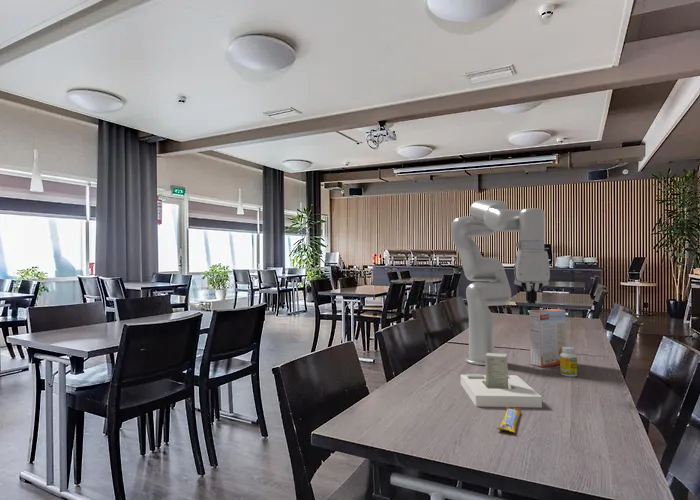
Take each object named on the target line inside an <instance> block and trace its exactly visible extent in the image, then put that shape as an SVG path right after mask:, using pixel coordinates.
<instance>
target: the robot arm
mask: <svg viewBox="0 0 700 500" xmlns="http://www.w3.org/2000/svg"><path fill="white" fill-rule="evenodd" d="M469 214H470V216H469V215H466V216H460V217H456V218H455V219H454V220H452V223H451V226H450V234H451V235H450V236H451V238H452V241H453V245H454V246H455V248H456V250H457V251H458V254H459V255H458V256H459V258H460V262H461V266H462V269H463V273H464V276H465V278H466V279H467V280H468V281H471V282H472V283H471V282H470V283H469V285H467V287H466V289H465V290H466V291H465V296H466V297H465V298H466V301H467V308H468V309H467V310H468V356H465V357H464V361H465V362H466V363H468V364H471V365H477V366H485V355H486V353H495V321H494V320H495V319H494V315H493V313H492V311H491V310H490V308H489V307H490V306H505V305H508V304H509V303H510V301H511V299H512V290H511V286H510V283H509V280H508V276H507V273H506V271H505V267H504V265H503V263H502V262H501V260H500V259H498V258H495V257H494V258H493V257H483V256H482V253H481V250H480V247H479V245H478V244H477V243H476V242H475V241H474V240H473V239H472V238H471V237H479V238H480V237H484V238H485V237H490V236H493V234H495V233H496V232H502V233H503V232H504V233H506V232H508V233H510V232H511V233H513V232H515V233H518V234H519V235H518V237H519V238H518V240H519V241H518V242H515V243H514V248H518V250H516V255H515V256H516V257H515V261H514V262H515V263H514V271H513V273H514V276H513V277H514V281H513V284H514V285H516V286H519V287H522V288H523V289H524V291H525V301H527V304H530V305H531V304H533V305H534V304H536V302H537V301H538V299H537V298H538V297H537V296H538V291H539V290H540V289H541V288H542V287H544V286H549V285H550V278H551V271H550V270H551V269H550V259H549V254H548V251H547V250H545V210H544V209H542V208H537V207H534V208H532V207H531V208H530V207H529V208H523V209H508V206H507V204H506V203H505V202H504V201H503V200H497V199H495V200H494V199H493V200H491V199H478V200H476V201H474V202H473V203H471V205H470V207H469ZM531 283H532V285H531ZM531 286H532V287H531Z"/></svg>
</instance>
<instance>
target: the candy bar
mask: <svg viewBox="0 0 700 500" xmlns="http://www.w3.org/2000/svg"><path fill="white" fill-rule="evenodd" d="M521 414H522V411H521V409H520V408H517V407H505V415H504V417H503V419H502V421H501V422H500V425H499V427H496V430H499V431H504V430H505V431H506V432H508V431H509V433H513V434H515V433H516V429H517V425H518V421H519V418H520V415H521ZM505 431H504V432H505Z"/></svg>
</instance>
